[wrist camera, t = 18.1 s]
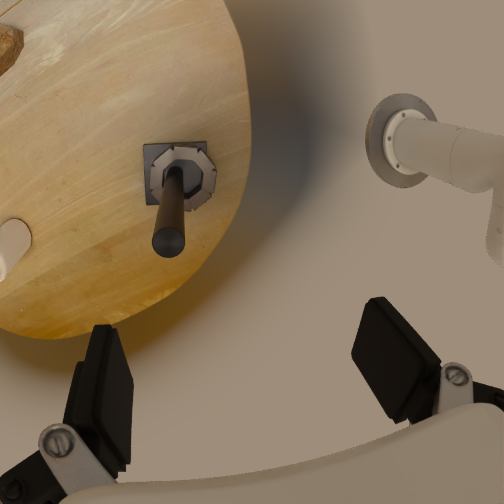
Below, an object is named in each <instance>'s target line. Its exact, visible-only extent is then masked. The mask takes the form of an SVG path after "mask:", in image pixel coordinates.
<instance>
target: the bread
mask: <svg viewBox="0 0 504 504" xmlns="http://www.w3.org/2000/svg"><path fill="white" fill-rule="evenodd" d="M23 46H24V45H23V32H22V31H20V30H17V29H15V28H12V27H10V26H7V25H4V24H1V23H0V76H1V75H2V74H3V73H4V72H5V71H7V70H8V69H9V68H10V67H11V66H12V65H13V64H14V63H15V61H16V59H17V57H18V55H19V53H20V52H21V50H22V48H23Z"/></svg>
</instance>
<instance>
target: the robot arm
mask: <svg viewBox="0 0 504 504" xmlns="http://www.w3.org/2000/svg"><path fill="white" fill-rule="evenodd" d="M383 149H384V154H385V157H386V159H387V161H388V163H389V164H390V165H391V167H392V168H393V169H395V170H396V171H398V172H400V173H402V174H406V175H412V174H416V173H418V172H422V173H424V174H427V175H430V176H432V177H434V178H437V179H439V180H442V181H444V182H446V183H449V184H451V185H453V186H456V187H458V188H460V189H462V190H465V191H467V192H470V193H481V192H484V191H487V190H489V189H491V188H493V201H492V208H491V214H490V219H489V224H488V230H487V236H486V249H487V252H488V254H489V256H490V257H491V258H492V259H493V260H494V261H495V262H496V263H498V264H499V265H500V266H502V267H504V136H499V135H494V134H489V133H484V132H480V131H476V130H472V129H468V128H463V127H459V126H454V125H450V124H445V123H440V122H435V121H430V120H428V119H427V118H426V117H425V116H424V115H423V114H422V113H420V112H419V111H416V110H412V109H403V110H400V111H398V112H396V113H395V114H394V115H393V116H392V117H391V118H390V119H389V121H388V122H387V125H386V127H385V130H384V134H383ZM351 355H352V359H353V361H354V362H355V364H356V366H357V367H358V369H359V370H360V372H361V374H362V375H363V377H364V379H365V380H366V382H367V383H368V385H369V387H370V388H371V390H372V392H373V393H374V395H375V396H376V398H377V400H378V401H379V403H380V405H381V406H382V408H383V409H384V411H385V413H386V414H387V416H388V417H389V418H390V419H393V421H394V423H395V424H397V423H399V422H402V421H405V420H406V419H407V418H408V420H409V421H410V423H409V427H407V428H404V429H402V430H399V431H397V432H395V433H392V434H390V435H387V436H384V437H382V438H379V439H377V440H374V441H371V442H368V443H365V444H363V445H359V446H357V447H353V448H350V449H347V450H345V451H341V452H338V453H335V454H331V455H328V456H324V457H321V458H317V459H313V460H309V461H305V462H301V463H297V464H292V465H288V466H283V467H279V468H274V469H268V470H263V471H257V472H252V473H245V474H239V475H231V476H224V477H214V478H205V479H193V480H178V481H155V482H127V483H118V482H117V481H116V480H115V479H116V478H118V472H126V464H130V462H131V427H132V406H133V389H134V384H133V378H132V376H131V373H130V369H129V366H128V364H127V360H126V357H125V355H124V351H123V348H122V345H121V342H120V338H119V335H118V332H117V329H116V328H112V327H111V325H110V324H106V325H95V326H94V328H93V331H92V335H91V338H90V342H89V345H88V349H87V353H86V357H85V360H84V361H79V362H78V363H77V365H76V368H75V371H74V375H73V379H72V383H71V387H70V392H69V395H68V400H67V404H66V409H65V413H64V418H63V423H58V424H52V425H50V426H48V427H47V428H46V429H44V430H43V431H42V433H41V434H40V437H39V441H38V447H39V450H38V451H36V452H35V453H34V454H32V455H31V456H29V457H28V458H26V459H25V460H23V461H22V462H20V463H19V464H17V465H16V466H15V467H13V468H12V469H10V470H9V471H7V472H6V473H4V474H3V475H2V476H1V477H0V504H504V390H501V389H499V388H495V387H492V386H488V385H485V384H481V383H478V382H474V381H472V376H471V373H470V371H469V370H468V369H467V368H466V367H465V366H463V365H461V364H459V363H454V362H451V363H447V364H445V365H444V366H443V367H441V366H440V363H441V360H440V358H439V357H438V356H437V355H436V354H435V353H434V351H433V350H432V349H431V348H430V347H429V346H428V344H427V343H426V342H425V341H424V340H423V339H422V338H421V337H420V335H419V334H418V333H417V332H416V331H415V330H414V329H413V327H412V326H411V325H410V324H409V323H408V322H407V321H406V320H405V319H404V318H403V316H402V315H401V314H400V313H399V312H398V311H397V310H396V309H395V308H394V307H393V306H392V304H391V303H390V302H389V301H388V300H387V299H386V298H385V297H376V298H371V299H370V300H369V301H368V303H366V304H365V308H364V311H363V314H362V318H361V322H360V325H359V328H358V332H357V335H356V339H355V342H354V345H353V348H352V352H351Z"/></svg>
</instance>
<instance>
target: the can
mask: <svg viewBox="0 0 504 504" xmlns="http://www.w3.org/2000/svg"><path fill="white" fill-rule="evenodd" d="M30 245H31V234H30V231H29V229H28V227H27V226H26V224H25V223H23V222H22V221H20V220H18V219H10V220H8V221H7V222H6V223H4V224H3V225H2V226H1V227H0V282H1V281H2V280H3V279H4V278H5V277H6V276H7V275H8V273H9V272H10V271H11V270H12V268H13V267H14V266H15V265H16V264H17V262H18V261H19V260H20V259H21V258H22V256H23V255H24V254H25V253H26V252H27V250H28V249H29V248H30Z"/></svg>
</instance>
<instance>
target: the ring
mask: <svg viewBox="0 0 504 504" xmlns="http://www.w3.org/2000/svg"><path fill="white" fill-rule="evenodd" d="M175 160H190V161H194V163H195V164H196V165H197V166H198V167H199V168H200V170H201V171H202V174H201V183H200V185H199V186H197V187H196V188H195V189H194V190H193V191H191V192H190V193H189V194H185V193H184V211H188V212H191V208H193V209H194V210H196V209H197V208H198V207H200V206H201V205H202V204H203V203H205V202H206V201H207V200H208V199H210V198H211V197H212V195H211V193H214V189H215V181H216V173H217V171H216V169H215V168H216V167H215V165H214V163H213V162H212V161H211V160H210V158H209V157H208V156H207V155H206V153H205V152H204V151H203V150H202V149H201V147H200V148H198V147H197V145H184V144H175V145H174V147H173V146H172V145H171V146H169V147H168V148H167V149H166V150H165V151H163V152H162V153H161V154H160V155H159V156H158V157H157V158H155V159H154V161H153V163H152V165H151V168H150V182H149V189H152V190H151V192H150V193H151V194H152V195H153V196H154V197H155V198H156V199H157V200H158V202H159V203H160V200H161V196H162V192H163V187H164V182H163V181H164V169H166V168H167V167H168V166H169V165H170V164H171V163H173V162H174V161H175Z"/></svg>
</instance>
